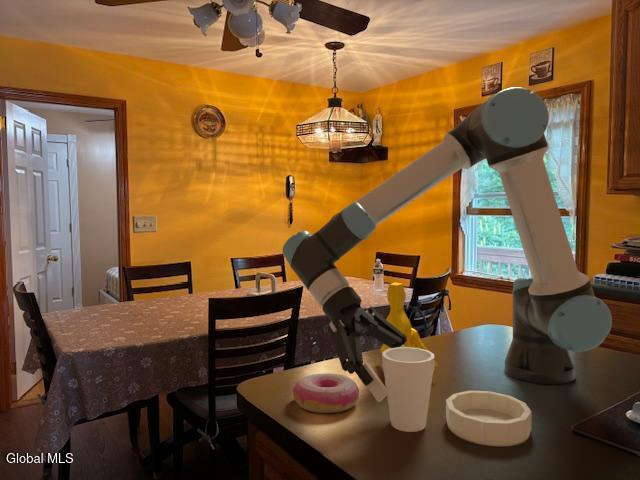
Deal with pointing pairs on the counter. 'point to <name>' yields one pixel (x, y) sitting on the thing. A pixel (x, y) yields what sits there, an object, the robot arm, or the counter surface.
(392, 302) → the figure statuette
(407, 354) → the foam cup
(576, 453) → the counter surface
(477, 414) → the dish
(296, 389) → the donut
